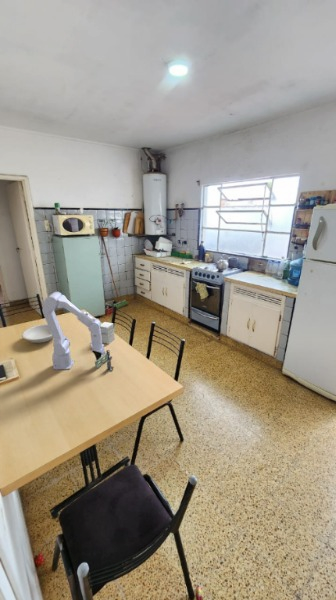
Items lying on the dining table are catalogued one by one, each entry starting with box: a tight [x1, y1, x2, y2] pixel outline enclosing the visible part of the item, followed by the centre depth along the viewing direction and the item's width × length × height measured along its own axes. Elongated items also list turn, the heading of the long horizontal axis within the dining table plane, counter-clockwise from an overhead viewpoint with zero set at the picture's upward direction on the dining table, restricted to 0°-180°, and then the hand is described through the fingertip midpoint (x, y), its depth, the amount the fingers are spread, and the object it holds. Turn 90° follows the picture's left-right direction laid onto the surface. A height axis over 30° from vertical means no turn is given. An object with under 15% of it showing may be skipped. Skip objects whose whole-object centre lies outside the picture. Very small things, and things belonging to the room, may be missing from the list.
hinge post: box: [105, 349, 113, 361], centre depth 152 cm, size 4×4×6 cm
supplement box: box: [100, 321, 116, 345], centre depth 171 cm, size 7×7×13 cm
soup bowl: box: [21, 323, 53, 344], centre depth 175 cm, size 24×24×7 cm
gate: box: [94, 352, 108, 369], centre depth 146 cm, size 10×1×4 cm, turn 157°
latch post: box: [106, 359, 114, 372], centre depth 142 cm, size 3×4×6 cm
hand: (99, 360), depth 147 cm, fingers closed, pressing on gate
